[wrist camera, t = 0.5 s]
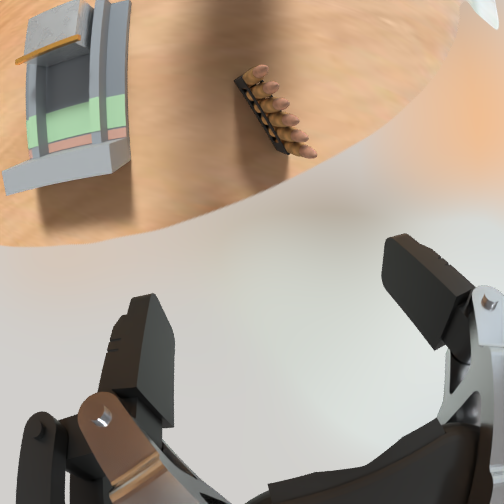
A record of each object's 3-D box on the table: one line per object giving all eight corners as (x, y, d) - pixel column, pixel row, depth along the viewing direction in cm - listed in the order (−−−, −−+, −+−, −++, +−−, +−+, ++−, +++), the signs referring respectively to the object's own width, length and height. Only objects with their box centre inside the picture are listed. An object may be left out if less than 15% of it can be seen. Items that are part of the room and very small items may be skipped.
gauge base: (34, 34, 18) (3, 25, 11) (131, 2, 20) (115, -22, 13) (37, 177, 28) (6, 195, 21) (131, 159, 31) (112, 173, 24)
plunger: (46, 30, 18) (21, 20, 12) (103, 11, 19) (83, -7, 13) (43, 68, 20) (15, 64, 15) (99, 50, 22) (77, 38, 16)
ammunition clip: (289, 144, 33) (329, 159, 23) (277, 151, 34) (311, 169, 23) (246, 73, 28) (269, 53, 18) (233, 80, 28) (250, 62, 18)
